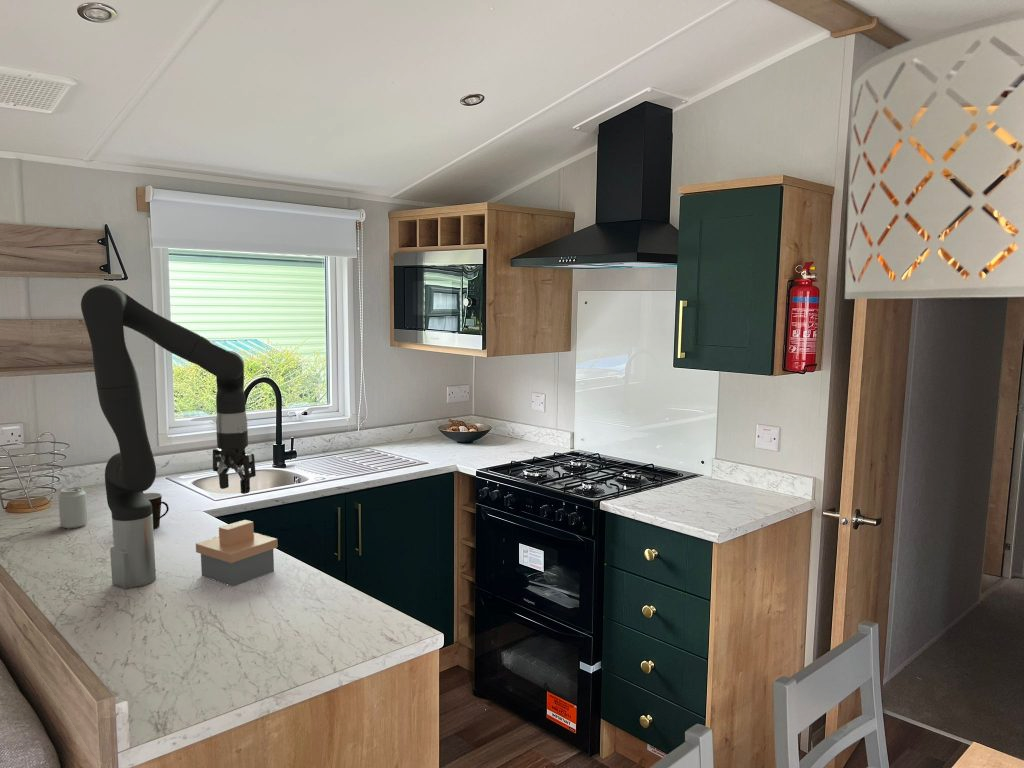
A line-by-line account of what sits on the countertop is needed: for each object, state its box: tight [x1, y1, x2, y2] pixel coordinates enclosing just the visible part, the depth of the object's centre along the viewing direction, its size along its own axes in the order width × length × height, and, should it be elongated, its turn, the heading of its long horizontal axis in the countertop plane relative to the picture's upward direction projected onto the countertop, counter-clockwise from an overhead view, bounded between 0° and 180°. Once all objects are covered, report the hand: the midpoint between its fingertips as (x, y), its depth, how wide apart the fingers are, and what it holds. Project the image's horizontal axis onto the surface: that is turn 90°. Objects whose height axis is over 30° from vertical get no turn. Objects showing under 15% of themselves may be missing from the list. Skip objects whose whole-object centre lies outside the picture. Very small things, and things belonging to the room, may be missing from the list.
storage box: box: [200, 549, 275, 587], centre depth 200 cm, size 13×13×8 cm
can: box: [57, 486, 89, 530], centre depth 240 cm, size 8×8×12 cm
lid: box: [195, 519, 279, 563], centre depth 200 cm, size 14×14×7 cm
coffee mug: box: [143, 492, 170, 530], centre depth 238 cm, size 12×9×10 cm
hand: (234, 490), depth 198 cm, fingers open, 8 cm apart
